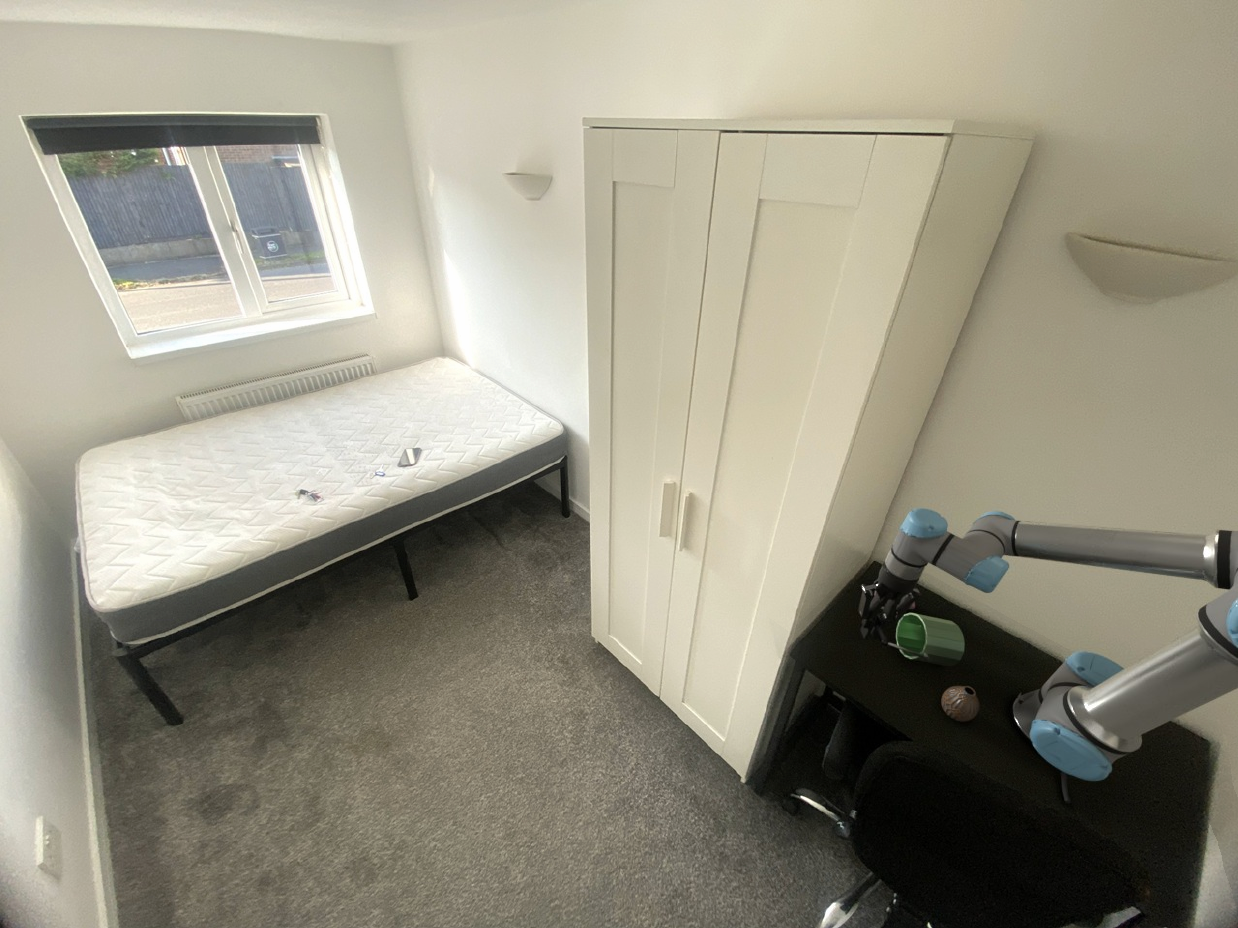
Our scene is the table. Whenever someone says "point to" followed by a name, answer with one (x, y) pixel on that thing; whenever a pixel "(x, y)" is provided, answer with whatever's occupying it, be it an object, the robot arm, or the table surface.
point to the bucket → (926, 639)
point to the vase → (960, 703)
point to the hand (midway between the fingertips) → (868, 634)
